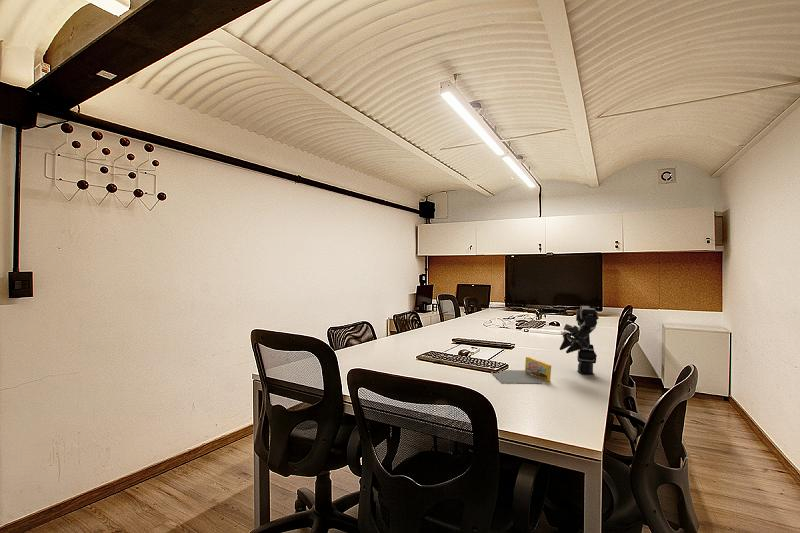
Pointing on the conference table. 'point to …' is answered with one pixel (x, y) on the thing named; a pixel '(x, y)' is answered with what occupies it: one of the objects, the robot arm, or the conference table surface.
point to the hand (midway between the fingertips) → (563, 351)
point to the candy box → (538, 368)
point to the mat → (516, 377)
